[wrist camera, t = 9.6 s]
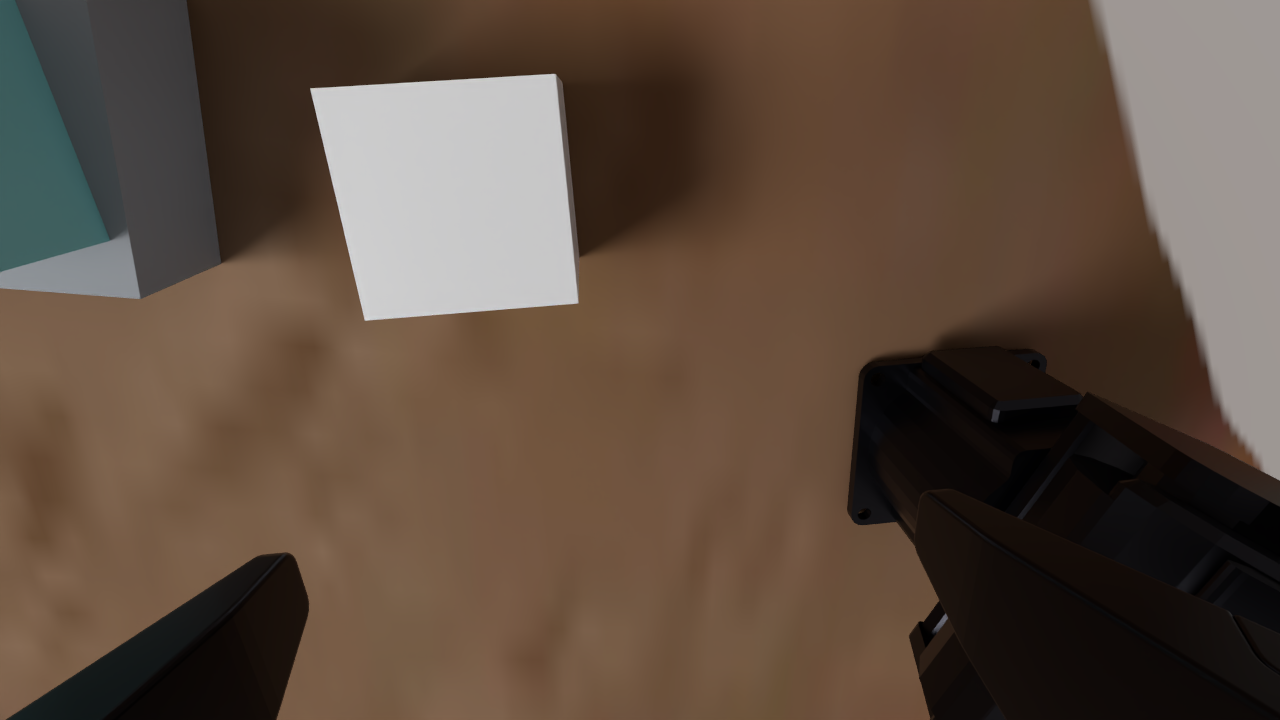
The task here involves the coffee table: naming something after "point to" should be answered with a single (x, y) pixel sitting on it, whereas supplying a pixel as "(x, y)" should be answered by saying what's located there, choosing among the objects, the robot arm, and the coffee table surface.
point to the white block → (453, 193)
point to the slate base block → (127, 144)
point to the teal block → (37, 161)
